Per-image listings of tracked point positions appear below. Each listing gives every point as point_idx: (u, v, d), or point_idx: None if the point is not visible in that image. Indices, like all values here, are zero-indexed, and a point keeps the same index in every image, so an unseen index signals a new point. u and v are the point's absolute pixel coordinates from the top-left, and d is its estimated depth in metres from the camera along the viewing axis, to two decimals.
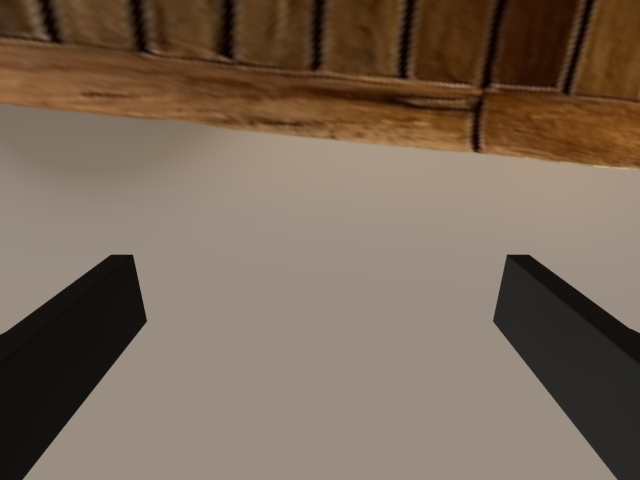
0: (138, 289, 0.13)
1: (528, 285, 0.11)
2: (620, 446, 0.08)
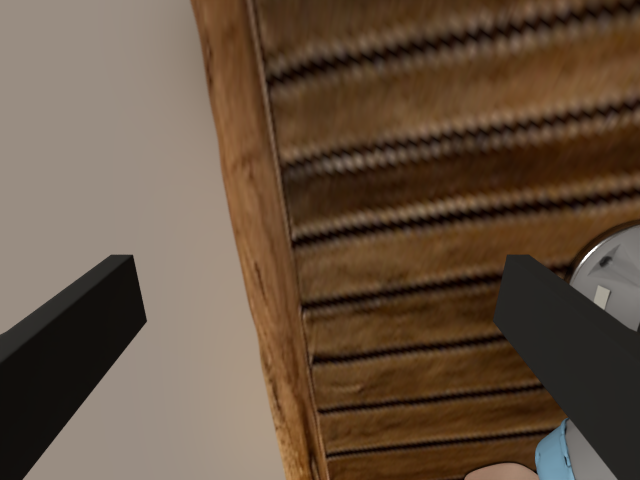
0: (138, 288, 0.13)
1: (528, 285, 0.11)
2: (620, 446, 0.08)
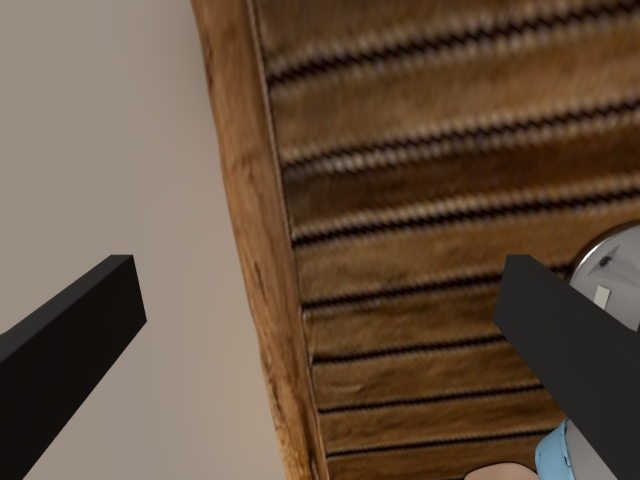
0: (138, 288, 0.13)
1: (528, 285, 0.11)
2: (620, 446, 0.08)
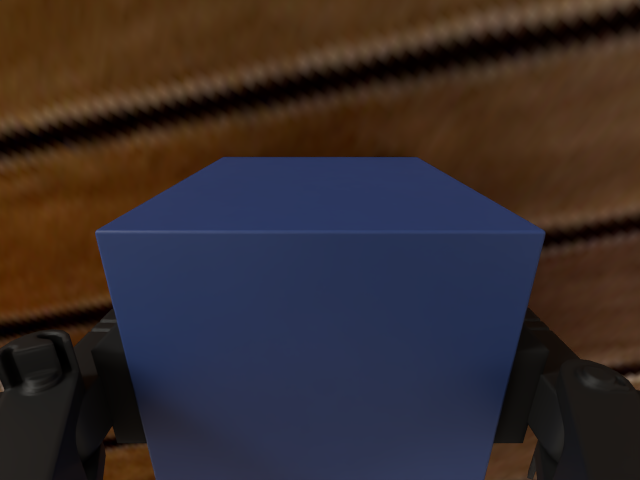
0: None
1: None
2: None
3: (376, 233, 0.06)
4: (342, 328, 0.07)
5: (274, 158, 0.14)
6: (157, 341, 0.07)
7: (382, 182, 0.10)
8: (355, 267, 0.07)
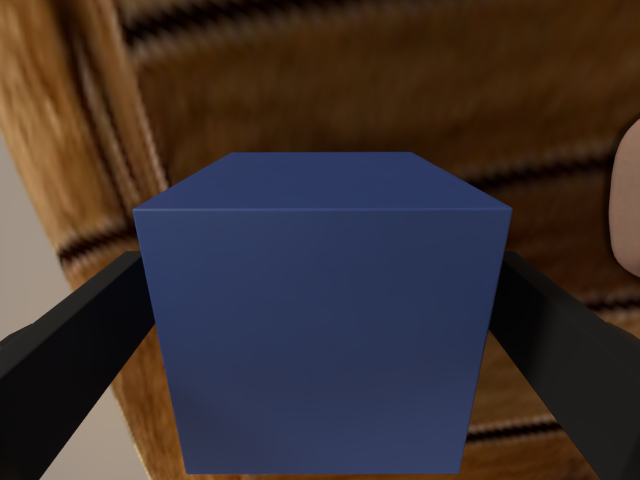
0: None
1: (512, 280, 0.11)
2: (593, 434, 0.08)
3: (370, 210, 0.08)
4: (342, 294, 0.08)
5: (279, 153, 0.16)
6: (182, 306, 0.08)
7: (377, 172, 0.11)
8: (352, 240, 0.08)
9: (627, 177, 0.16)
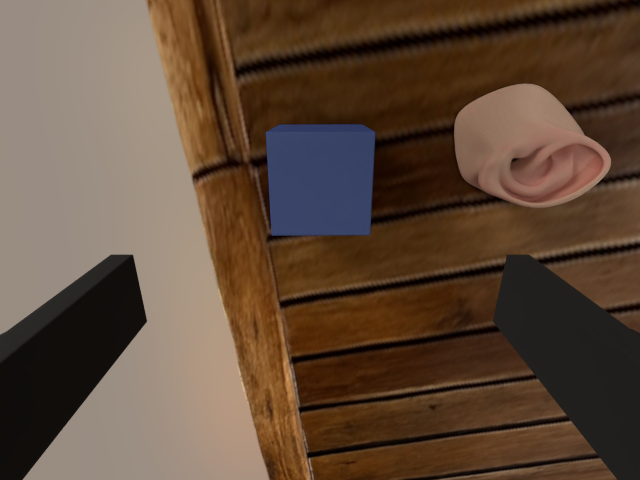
0: (138, 288, 0.13)
1: (528, 285, 0.11)
2: (620, 446, 0.08)
3: (334, 132, 0.26)
4: (326, 160, 0.27)
5: None
6: (277, 164, 0.27)
7: None
8: (329, 142, 0.27)
9: (459, 135, 0.35)
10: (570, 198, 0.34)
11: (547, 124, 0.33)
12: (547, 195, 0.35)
